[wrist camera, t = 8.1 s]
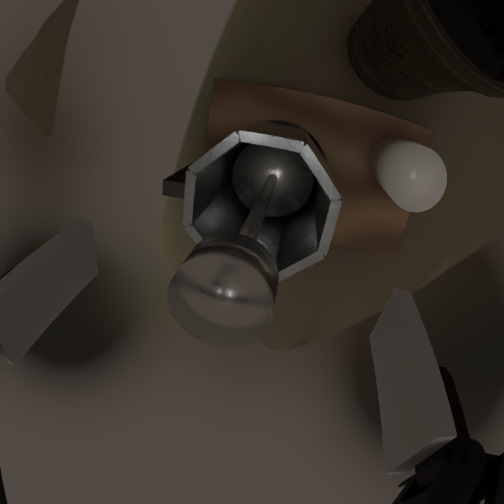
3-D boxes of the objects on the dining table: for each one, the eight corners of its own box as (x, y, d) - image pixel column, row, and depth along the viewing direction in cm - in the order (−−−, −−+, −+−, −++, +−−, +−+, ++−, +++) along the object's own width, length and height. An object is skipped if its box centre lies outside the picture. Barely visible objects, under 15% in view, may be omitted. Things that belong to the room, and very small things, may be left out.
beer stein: (379, 119, 27) (495, 135, 9) (321, 39, 24) (367, -55, 6) (468, 67, 22) (590, 62, 4) (419, -6, 19) (512, -70, 1)
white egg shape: (376, 129, 27) (396, 136, 20) (425, 146, 26) (454, 158, 20) (363, 182, 29) (378, 202, 23) (411, 196, 29) (434, 219, 23)
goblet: (239, 131, 27) (118, 189, 9) (320, 147, 26) (357, 236, 8) (229, 205, 30) (134, 348, 13) (303, 221, 30) (295, 390, 12)
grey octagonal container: (214, 110, 28) (158, 116, 17) (337, 132, 28) (360, 150, 16) (203, 204, 34) (153, 259, 23) (314, 227, 33) (318, 296, 22)
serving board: (218, 80, 28) (214, 79, 27) (428, 129, 26) (433, 130, 25) (202, 211, 36) (198, 215, 35) (390, 252, 34) (393, 258, 33)
